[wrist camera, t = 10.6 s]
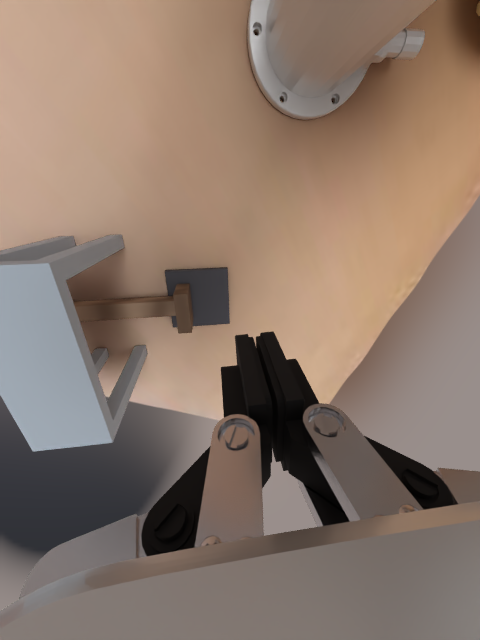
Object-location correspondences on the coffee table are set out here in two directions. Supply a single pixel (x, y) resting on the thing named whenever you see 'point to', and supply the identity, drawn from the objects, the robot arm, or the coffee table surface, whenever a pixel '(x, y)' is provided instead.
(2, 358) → the tunnel
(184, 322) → the sled
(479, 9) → the beige toy sheep
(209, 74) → the coffee table surface
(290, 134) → the coffee table surface
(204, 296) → the panel
